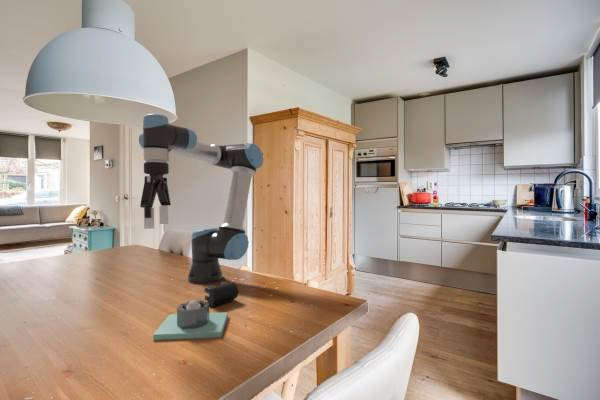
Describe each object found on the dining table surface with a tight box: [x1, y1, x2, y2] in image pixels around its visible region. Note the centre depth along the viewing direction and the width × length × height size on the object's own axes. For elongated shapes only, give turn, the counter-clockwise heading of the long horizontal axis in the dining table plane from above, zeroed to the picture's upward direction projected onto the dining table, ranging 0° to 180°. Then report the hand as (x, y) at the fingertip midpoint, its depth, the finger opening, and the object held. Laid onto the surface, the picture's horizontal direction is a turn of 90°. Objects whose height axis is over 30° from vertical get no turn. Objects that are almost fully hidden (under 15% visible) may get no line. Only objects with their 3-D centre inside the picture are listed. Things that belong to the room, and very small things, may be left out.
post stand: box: [152, 299, 229, 341], centre depth 92 cm, size 14×18×8 cm
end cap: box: [204, 281, 239, 308], centre depth 112 cm, size 10×7×7 cm
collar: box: [176, 300, 210, 329], centre depth 92 cm, size 8×8×5 cm
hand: (157, 226), depth 104 cm, fingers open, 13 cm apart
